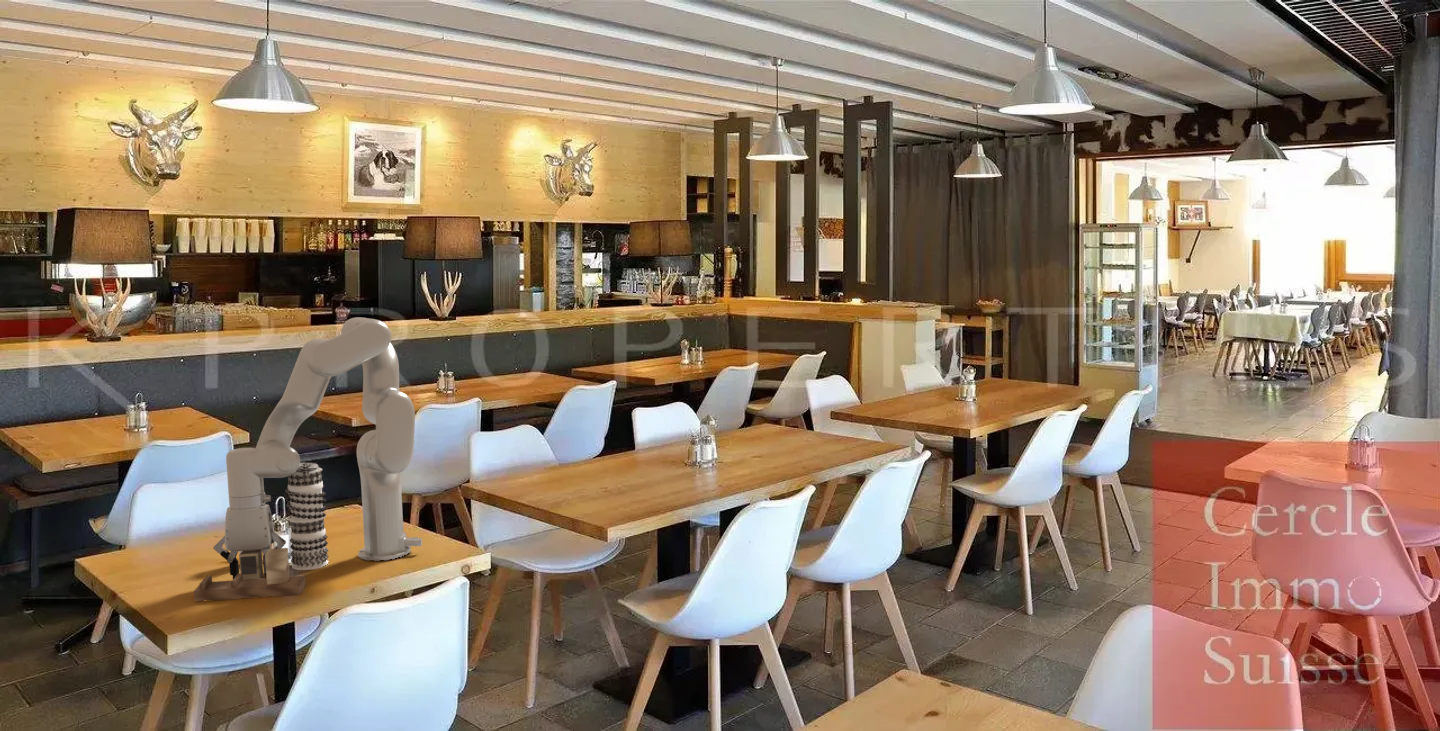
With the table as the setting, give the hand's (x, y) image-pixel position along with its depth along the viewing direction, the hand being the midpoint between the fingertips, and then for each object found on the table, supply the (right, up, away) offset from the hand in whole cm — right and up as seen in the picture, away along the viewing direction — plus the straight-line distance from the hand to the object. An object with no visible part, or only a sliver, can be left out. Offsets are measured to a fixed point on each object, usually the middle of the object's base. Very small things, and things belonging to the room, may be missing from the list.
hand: (252, 576), depth 248 cm
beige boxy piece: (0, -1, 0) cm, 1 cm away
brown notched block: (+4, -2, -9) cm, 10 cm away
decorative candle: (+9, 0, +12) cm, 15 cm away
